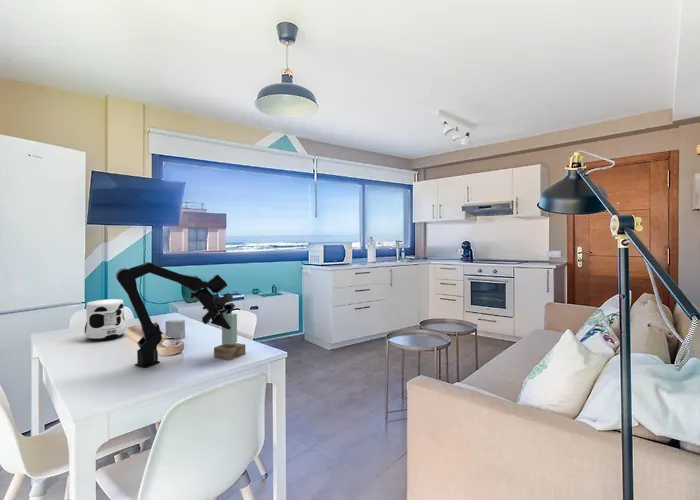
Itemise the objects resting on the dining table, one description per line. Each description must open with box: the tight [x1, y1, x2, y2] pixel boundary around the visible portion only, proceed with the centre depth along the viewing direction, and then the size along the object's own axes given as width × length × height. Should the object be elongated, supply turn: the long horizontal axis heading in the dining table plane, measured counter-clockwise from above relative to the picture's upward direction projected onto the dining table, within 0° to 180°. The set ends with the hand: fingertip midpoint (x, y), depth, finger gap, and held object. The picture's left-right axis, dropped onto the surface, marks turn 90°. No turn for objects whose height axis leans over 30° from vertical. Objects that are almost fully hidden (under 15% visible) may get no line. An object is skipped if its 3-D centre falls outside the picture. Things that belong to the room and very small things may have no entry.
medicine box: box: [164, 319, 186, 340], centre depth 184 cm, size 8×4×9 cm, turn 84°
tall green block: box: [221, 313, 238, 345], centre depth 157 cm, size 4×4×12 cm
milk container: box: [84, 298, 127, 341], centre depth 185 cm, size 17×17×18 cm
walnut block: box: [213, 342, 246, 361], centre depth 157 cm, size 9×9×4 cm
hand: (232, 327), depth 157 cm, fingers closed on tall green block, 4 cm apart
